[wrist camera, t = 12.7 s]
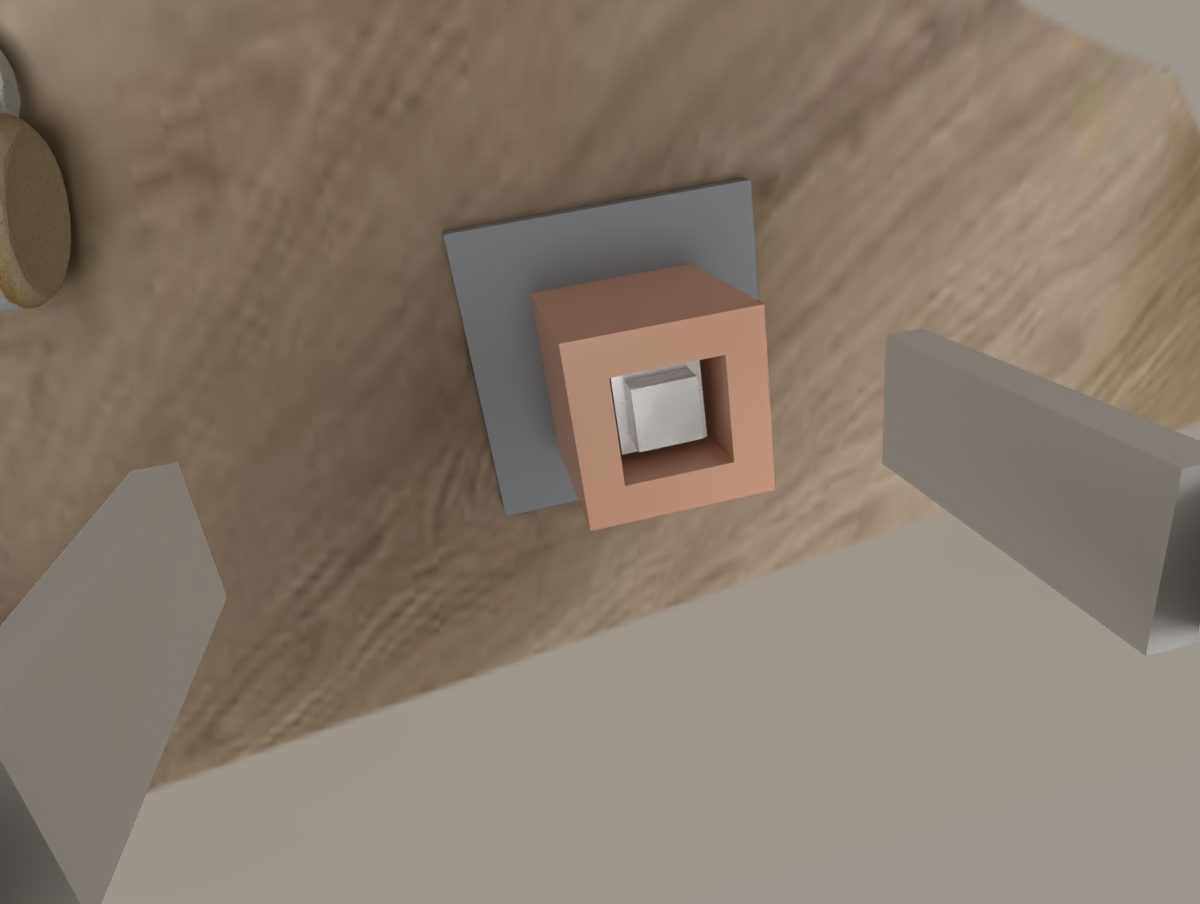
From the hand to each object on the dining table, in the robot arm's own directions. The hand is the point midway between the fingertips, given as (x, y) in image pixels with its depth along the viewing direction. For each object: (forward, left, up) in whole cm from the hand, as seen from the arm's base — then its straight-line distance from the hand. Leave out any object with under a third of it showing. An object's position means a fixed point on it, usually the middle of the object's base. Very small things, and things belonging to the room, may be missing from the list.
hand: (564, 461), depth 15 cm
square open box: (+5, -5, -23) cm, 24 cm away
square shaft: (+5, -5, -22) cm, 24 cm away
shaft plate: (+5, -5, -24) cm, 25 cm away
